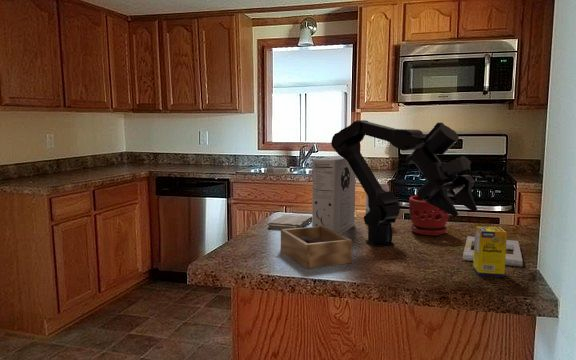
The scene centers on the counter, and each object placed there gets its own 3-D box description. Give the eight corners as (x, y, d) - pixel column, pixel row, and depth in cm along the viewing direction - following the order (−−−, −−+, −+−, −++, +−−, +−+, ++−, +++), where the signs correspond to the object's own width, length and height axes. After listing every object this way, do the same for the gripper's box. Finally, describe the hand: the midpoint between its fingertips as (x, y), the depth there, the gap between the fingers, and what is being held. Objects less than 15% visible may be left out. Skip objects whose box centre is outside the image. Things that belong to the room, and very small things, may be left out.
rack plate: (522, 266, 112) (522, 260, 112) (462, 259, 118) (463, 254, 118) (517, 245, 132) (518, 240, 132) (467, 240, 138) (467, 235, 138)
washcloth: (265, 230, 155) (265, 221, 154) (282, 220, 171) (283, 212, 171) (298, 233, 151) (298, 224, 150) (312, 222, 168) (312, 214, 167)
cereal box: (334, 223, 163) (335, 155, 160) (354, 225, 160) (356, 156, 157) (311, 236, 144) (312, 159, 141) (333, 239, 141) (334, 160, 138)
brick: (295, 255, 124) (295, 238, 123) (302, 251, 127) (302, 235, 126) (330, 261, 118) (330, 243, 118) (336, 257, 121) (336, 240, 121)
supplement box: (505, 277, 104) (507, 232, 103) (477, 276, 106) (480, 230, 104) (498, 269, 110) (500, 226, 109) (472, 268, 111) (474, 225, 110)
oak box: (305, 268, 111) (306, 244, 110) (280, 250, 128) (280, 229, 127) (351, 262, 116) (352, 240, 115) (321, 245, 132) (321, 226, 132)
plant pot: (401, 229, 154) (402, 195, 153) (436, 227, 157) (437, 194, 155) (419, 238, 141) (420, 201, 140) (457, 236, 144) (458, 199, 143)
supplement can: (372, 220, 169) (373, 181, 168) (392, 223, 164) (393, 182, 162) (361, 223, 163) (362, 183, 161) (381, 226, 158) (382, 184, 156)
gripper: (430, 147, 108) (470, 198, 101) (469, 145, 120) (508, 190, 113) (402, 176, 115) (437, 225, 108) (442, 171, 127) (476, 216, 120)
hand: (466, 213), depth 112 cm, fingers open, 9 cm apart
